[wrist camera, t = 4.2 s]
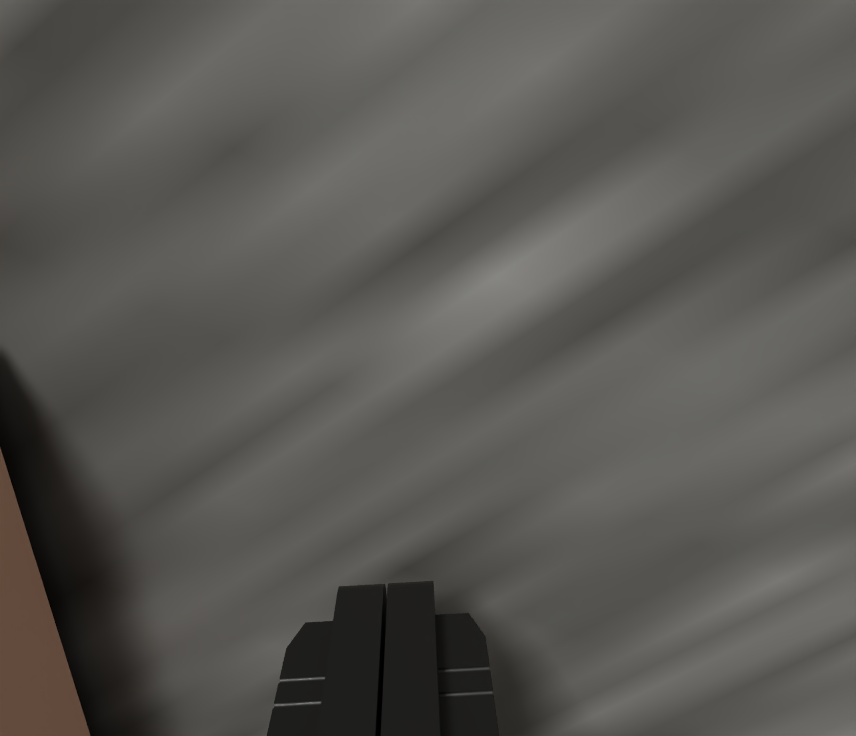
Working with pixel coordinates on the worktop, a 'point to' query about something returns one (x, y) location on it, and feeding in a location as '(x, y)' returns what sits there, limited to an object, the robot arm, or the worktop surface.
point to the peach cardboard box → (30, 639)
